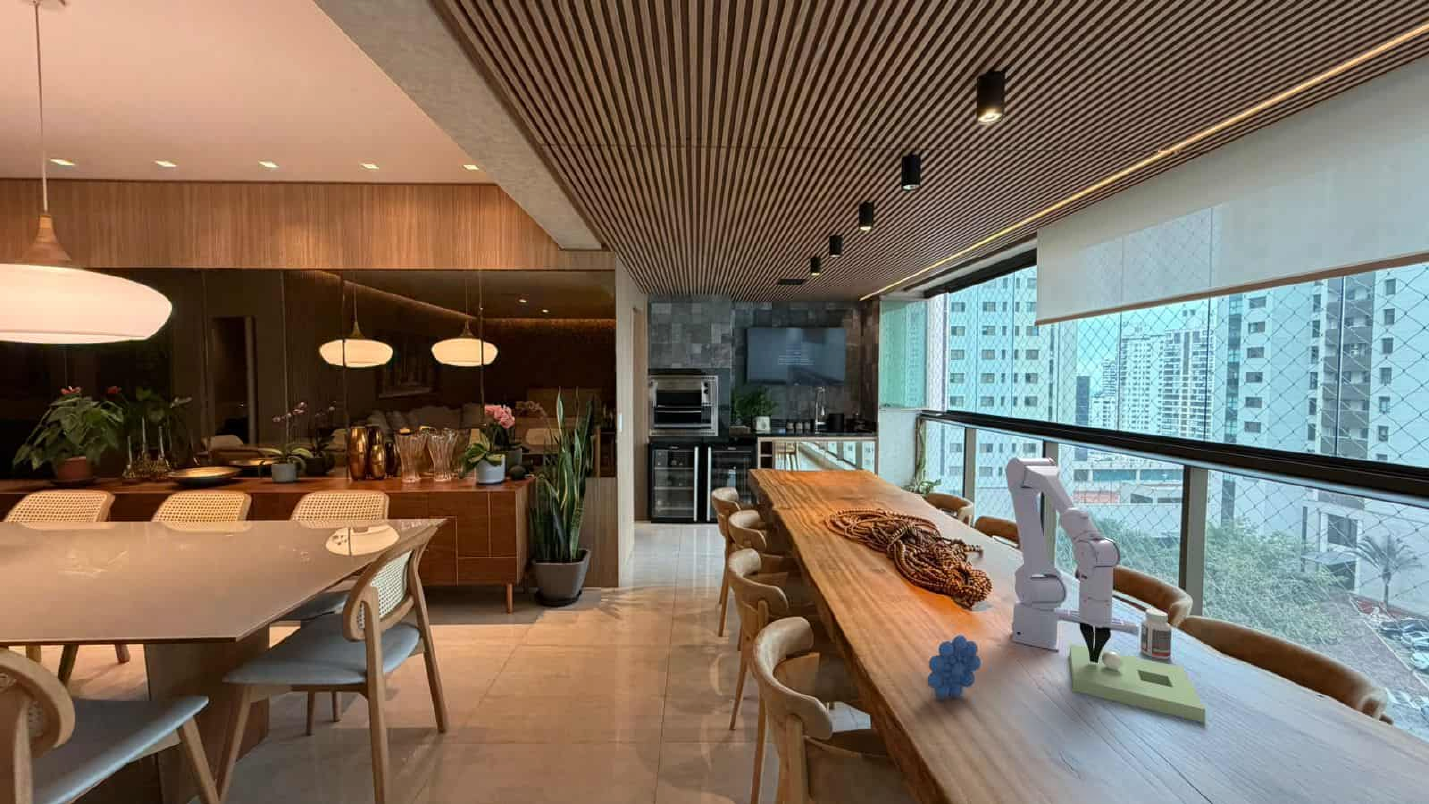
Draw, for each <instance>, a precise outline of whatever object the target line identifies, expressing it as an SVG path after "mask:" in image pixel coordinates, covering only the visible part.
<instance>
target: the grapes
mask: <svg viewBox="0 0 1429 804" xmlns="http://www.w3.org/2000/svg"><path fill="white" fill-rule="evenodd" d="M978 648H979V647H978V645H977V642H975V641H973V640H967V638H966V637H965V636H964V635H957V636H955V637H954V638H953V639H952V641H948V640H945V641H943V642H941V643H940V644H939V647H938V654H937V655H934V656H932V657H931V658H930V659H929V662H928V667H929V670H930V671H931V672H930V673H929V674H928V676H927V680H926V683H927V685H928V687H930V689H934V694H935V696H936V697H937V698H938V699H946V698H948V696H949V697H950V696H951V697H950V698H952V697H954V698H953V699H957V698H959V697H960V696H961V695H962V694H963V690H964V688H969V687H971V686H973V685H974V684H975V680H976V678H975V677H976V676H975V674H974V672H976V671H978V669H979V668H981V667H980V666H981V659H980V657H979V656H978V655H977V653H978Z"/></svg>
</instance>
